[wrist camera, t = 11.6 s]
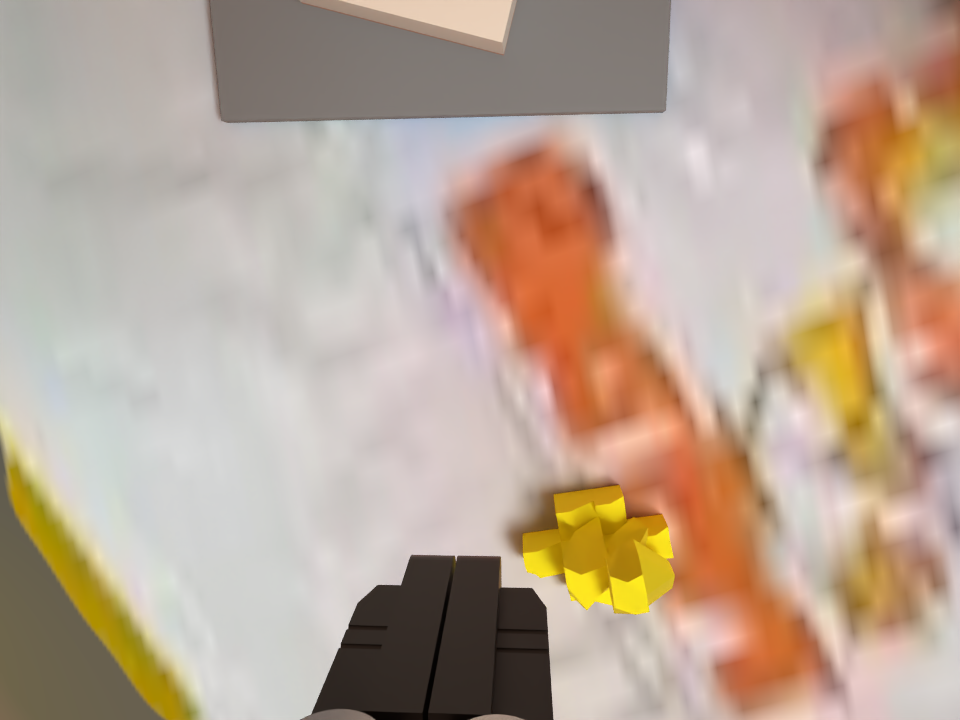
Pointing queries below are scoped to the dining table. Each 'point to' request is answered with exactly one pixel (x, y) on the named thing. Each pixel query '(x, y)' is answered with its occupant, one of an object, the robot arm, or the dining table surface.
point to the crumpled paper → (603, 551)
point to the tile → (437, 18)
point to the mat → (438, 63)
